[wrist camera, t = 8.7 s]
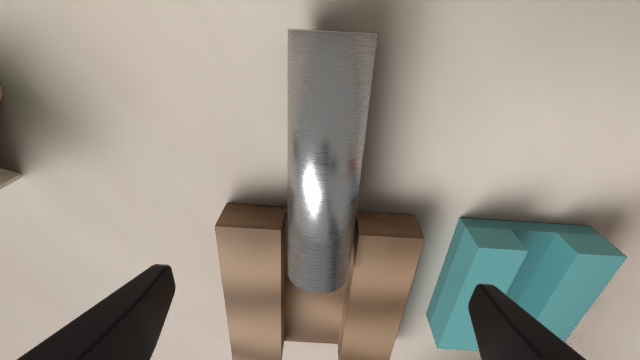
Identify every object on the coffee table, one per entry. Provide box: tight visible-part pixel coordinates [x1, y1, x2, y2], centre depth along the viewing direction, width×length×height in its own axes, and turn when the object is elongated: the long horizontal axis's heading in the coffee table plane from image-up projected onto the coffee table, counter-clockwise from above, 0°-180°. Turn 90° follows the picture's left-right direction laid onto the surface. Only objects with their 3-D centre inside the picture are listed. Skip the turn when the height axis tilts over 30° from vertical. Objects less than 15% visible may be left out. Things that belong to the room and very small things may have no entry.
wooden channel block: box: [215, 203, 425, 360], centre depth 23 cm, size 14×13×2 cm
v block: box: [426, 218, 627, 351], centre depth 22 cm, size 10×9×3 cm
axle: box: [288, 29, 378, 294], centre depth 17 cm, size 14×4×4 cm, turn 177°
